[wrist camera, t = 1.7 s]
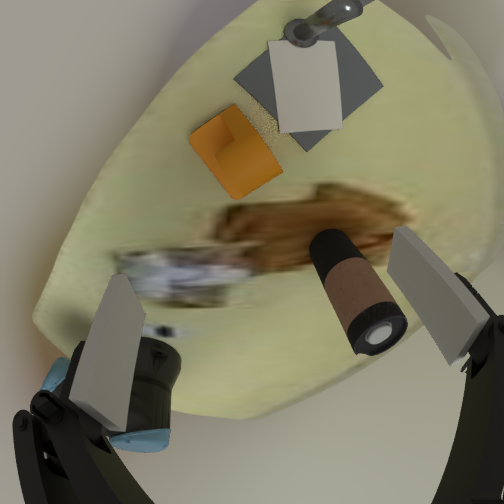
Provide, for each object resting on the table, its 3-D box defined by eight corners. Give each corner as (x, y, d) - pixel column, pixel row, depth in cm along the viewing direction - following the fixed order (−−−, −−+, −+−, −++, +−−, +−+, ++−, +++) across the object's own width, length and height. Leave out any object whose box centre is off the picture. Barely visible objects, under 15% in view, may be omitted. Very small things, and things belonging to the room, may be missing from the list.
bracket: (187, 135, 33) (173, 154, 23) (234, 103, 31) (241, 107, 21) (233, 195, 38) (240, 237, 28) (277, 167, 36) (301, 200, 27)
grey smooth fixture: (300, 54, 27) (350, 35, 15) (277, 31, 25) (314, -3, 13) (334, 29, 25) (395, 7, 13) (312, 7, 23) (363, -29, 11)
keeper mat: (222, 79, 29) (222, 79, 28) (315, 7, 24) (317, 6, 23) (304, 160, 36) (305, 161, 36) (385, 90, 31) (387, 91, 30)
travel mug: (345, 220, 42) (411, 305, 26) (352, 256, 46) (406, 341, 30) (302, 237, 43) (349, 333, 26) (313, 271, 47) (355, 365, 31)
